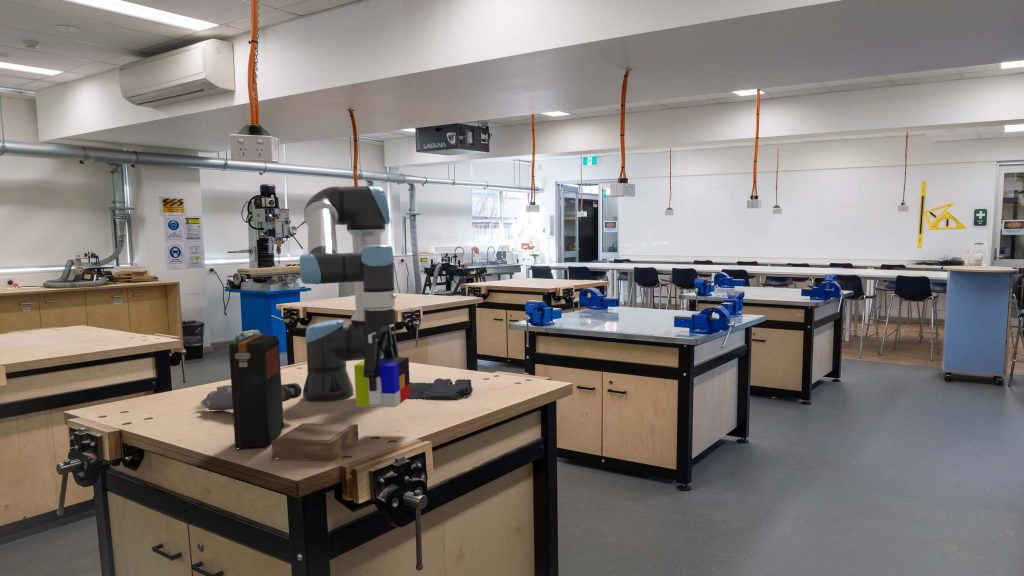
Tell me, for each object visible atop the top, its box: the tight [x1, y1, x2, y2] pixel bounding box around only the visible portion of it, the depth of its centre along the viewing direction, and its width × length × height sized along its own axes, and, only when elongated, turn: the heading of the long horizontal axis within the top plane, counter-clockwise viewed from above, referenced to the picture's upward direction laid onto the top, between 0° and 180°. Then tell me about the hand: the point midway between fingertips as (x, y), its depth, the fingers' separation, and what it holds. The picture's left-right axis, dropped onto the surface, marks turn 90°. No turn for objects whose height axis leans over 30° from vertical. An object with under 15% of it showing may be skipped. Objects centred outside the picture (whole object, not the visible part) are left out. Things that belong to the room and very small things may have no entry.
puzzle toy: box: [353, 356, 411, 408], centre depth 156 cm, size 10×10×10 cm
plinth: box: [270, 422, 360, 462], centre depth 145 cm, size 14×14×4 cm
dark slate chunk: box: [406, 377, 474, 401], centre depth 196 cm, size 15×22×5 cm
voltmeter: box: [228, 333, 285, 449], centre depth 153 cm, size 16×9×25 cm, turn 5°
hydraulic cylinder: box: [200, 382, 303, 411], centre depth 178 cm, size 7×37×10 cm, turn 64°
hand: (383, 397), depth 157 cm, fingers closed on puzzle toy, 10 cm apart
